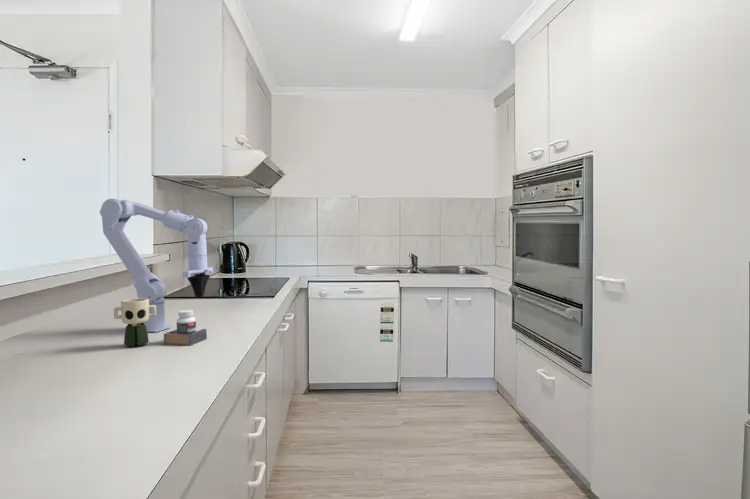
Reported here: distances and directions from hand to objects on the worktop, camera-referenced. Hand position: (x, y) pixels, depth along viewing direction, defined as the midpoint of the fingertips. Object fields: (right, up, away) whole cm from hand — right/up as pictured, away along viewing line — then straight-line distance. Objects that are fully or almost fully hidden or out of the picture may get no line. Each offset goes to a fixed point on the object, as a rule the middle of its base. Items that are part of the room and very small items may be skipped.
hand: (199, 297), depth 163 cm
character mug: (-10, -12, -21) cm, 27 cm away
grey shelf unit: (+2, -11, -17) cm, 21 cm away
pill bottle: (+2, -11, -17) cm, 21 cm away
